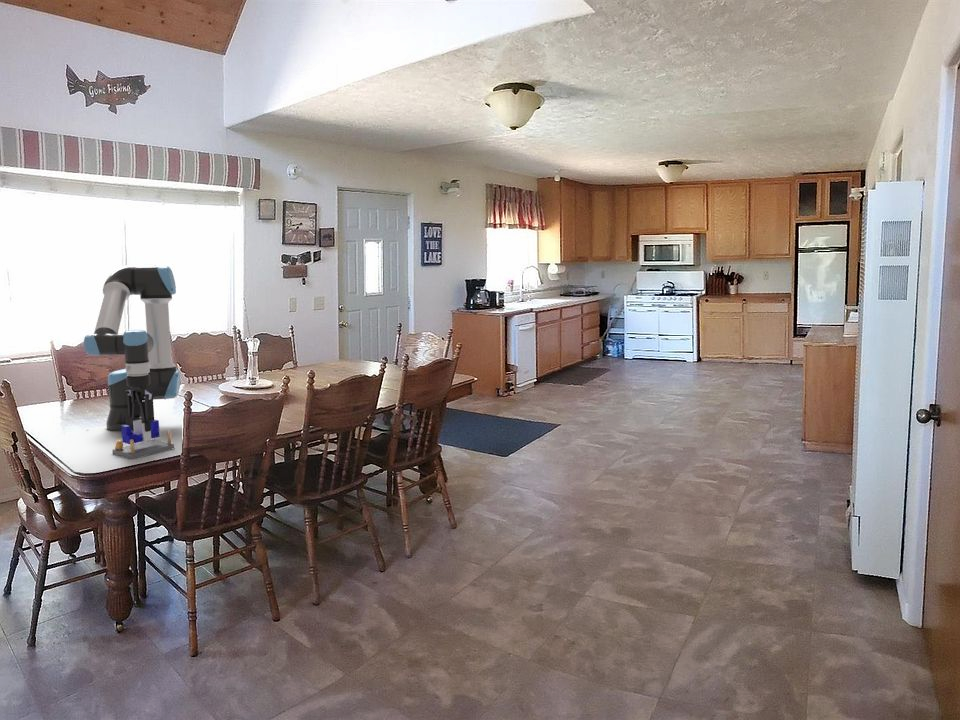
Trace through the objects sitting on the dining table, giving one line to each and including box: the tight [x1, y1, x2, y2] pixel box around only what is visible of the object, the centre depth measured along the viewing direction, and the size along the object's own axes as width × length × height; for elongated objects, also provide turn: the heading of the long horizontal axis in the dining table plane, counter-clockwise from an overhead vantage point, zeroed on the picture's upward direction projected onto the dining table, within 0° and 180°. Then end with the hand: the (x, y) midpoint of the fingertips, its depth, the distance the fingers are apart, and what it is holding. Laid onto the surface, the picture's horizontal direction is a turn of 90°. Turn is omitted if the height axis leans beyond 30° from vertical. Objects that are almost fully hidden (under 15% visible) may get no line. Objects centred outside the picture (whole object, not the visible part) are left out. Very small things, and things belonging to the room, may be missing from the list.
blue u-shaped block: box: [121, 418, 161, 445], centre depth 253 cm, size 12×4×6 cm, turn 144°
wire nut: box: [114, 439, 124, 450], centre depth 251 cm, size 2×2×3 cm
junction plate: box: [111, 430, 175, 460], centre depth 254 cm, size 12×16×6 cm
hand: (142, 438), depth 253 cm, fingers closed on blue u-shaped block, 5 cm apart
